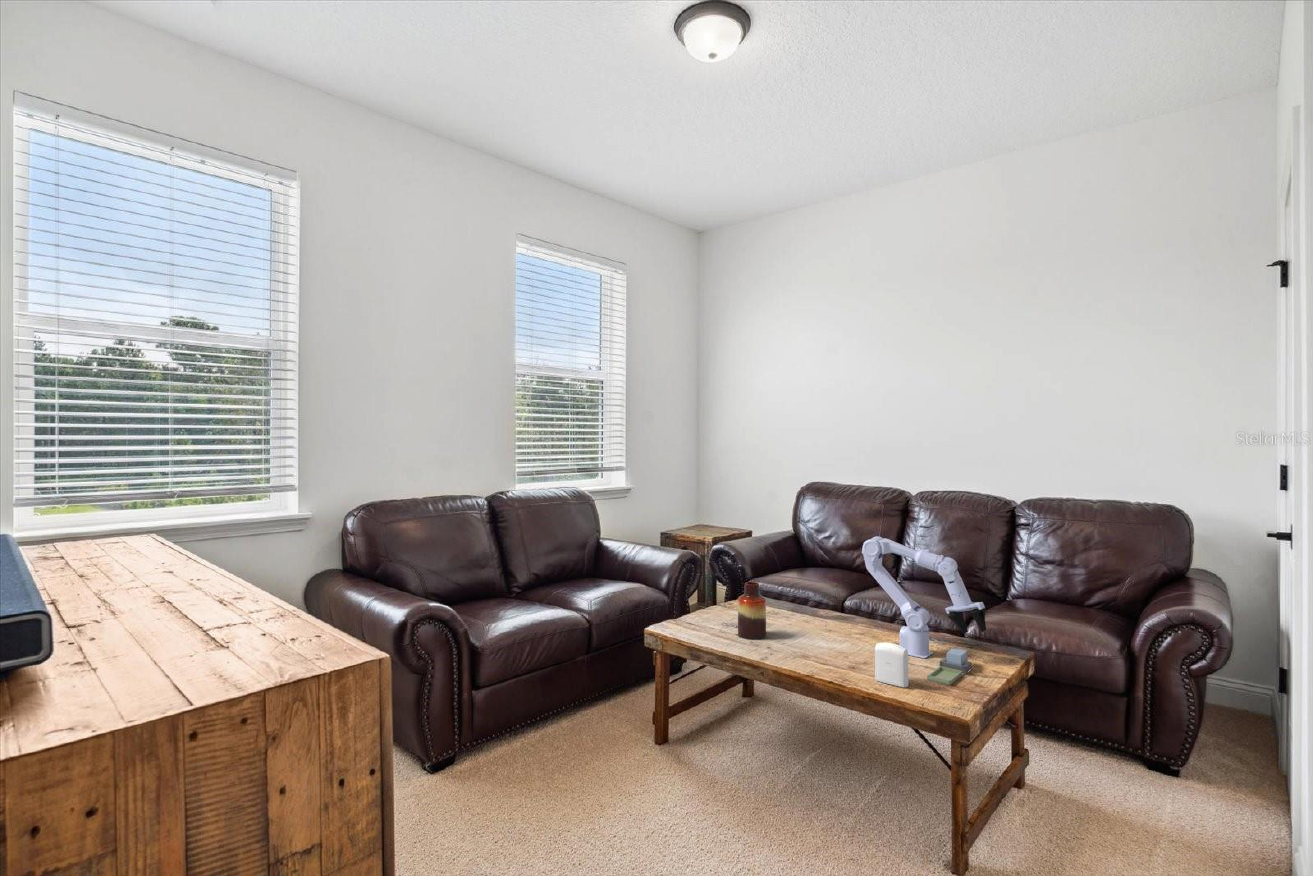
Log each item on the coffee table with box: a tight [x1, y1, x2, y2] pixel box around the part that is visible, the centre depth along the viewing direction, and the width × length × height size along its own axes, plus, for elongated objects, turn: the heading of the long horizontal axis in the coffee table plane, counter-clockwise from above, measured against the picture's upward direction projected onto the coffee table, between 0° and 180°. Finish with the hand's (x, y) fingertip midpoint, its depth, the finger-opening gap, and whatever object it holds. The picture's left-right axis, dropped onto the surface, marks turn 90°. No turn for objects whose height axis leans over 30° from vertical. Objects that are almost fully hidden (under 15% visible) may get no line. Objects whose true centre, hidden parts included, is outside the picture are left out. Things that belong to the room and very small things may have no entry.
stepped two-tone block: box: [946, 647, 968, 666], centre depth 220 cm, size 4×9×6 cm, turn 138°
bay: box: [939, 656, 972, 675], centre depth 218 cm, size 8×6×2 cm
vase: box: [737, 581, 767, 641], centre depth 255 cm, size 11×11×20 cm
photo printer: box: [874, 641, 909, 689], centre depth 206 cm, size 10×4×12 cm, turn 47°
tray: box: [926, 665, 963, 687], centre depth 210 cm, size 7×12×2 cm, turn 138°
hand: (974, 631), depth 223 cm, fingers open, 7 cm apart
